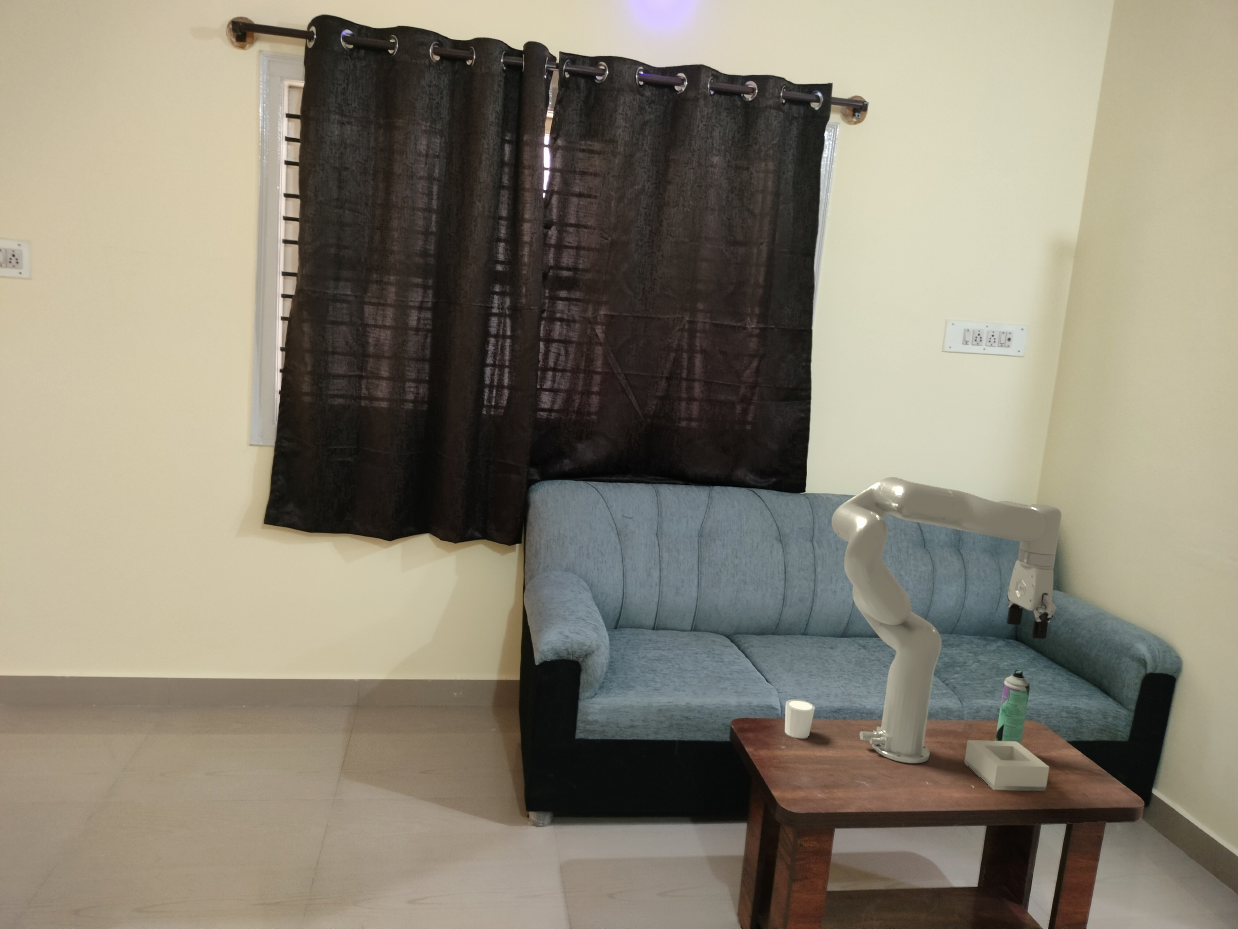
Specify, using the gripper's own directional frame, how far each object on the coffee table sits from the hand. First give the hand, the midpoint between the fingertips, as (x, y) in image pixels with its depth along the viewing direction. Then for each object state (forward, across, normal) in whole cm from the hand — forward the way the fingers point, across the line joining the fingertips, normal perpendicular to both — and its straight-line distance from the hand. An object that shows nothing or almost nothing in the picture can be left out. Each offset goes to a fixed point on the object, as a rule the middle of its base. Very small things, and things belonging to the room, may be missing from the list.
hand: (1025, 631), depth 198 cm
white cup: (+30, -7, -49) cm, 58 cm away
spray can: (+30, 0, 0) cm, 30 cm away
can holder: (+30, +12, -8) cm, 33 cm away
